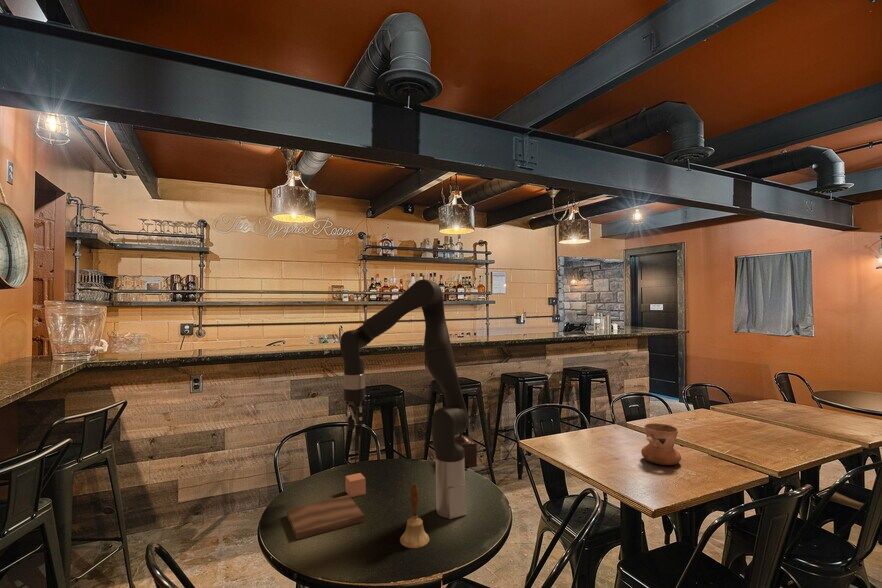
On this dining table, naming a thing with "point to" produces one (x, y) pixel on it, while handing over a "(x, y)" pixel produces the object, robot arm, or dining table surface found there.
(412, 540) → the hand bell
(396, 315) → the robot arm
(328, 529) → the walnut board
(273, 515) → the dining table surface
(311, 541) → the dining table surface
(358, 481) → the terracotta cube
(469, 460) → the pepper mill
